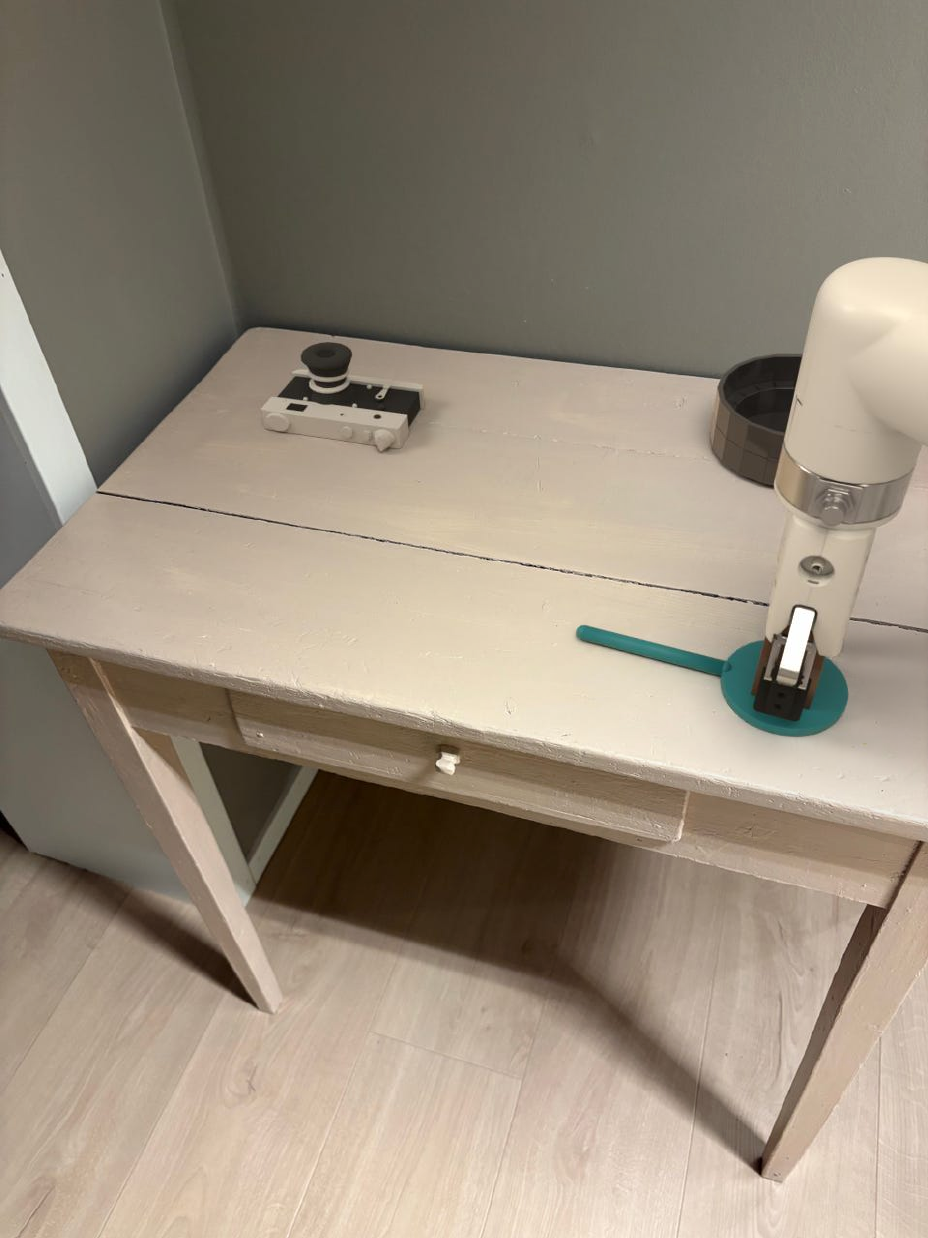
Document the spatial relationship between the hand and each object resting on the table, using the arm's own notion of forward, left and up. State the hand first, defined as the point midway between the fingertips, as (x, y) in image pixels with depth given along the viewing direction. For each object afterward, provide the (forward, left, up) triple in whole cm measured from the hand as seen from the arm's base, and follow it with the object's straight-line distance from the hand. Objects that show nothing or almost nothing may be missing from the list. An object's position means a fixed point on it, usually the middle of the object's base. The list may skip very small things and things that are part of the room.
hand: (787, 669), depth 70 cm
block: (0, 0, -1) cm, 1 cm away
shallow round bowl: (+5, -32, -2) cm, 32 cm away
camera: (+49, -22, -2) cm, 54 cm away
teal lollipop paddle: (+6, 0, -2) cm, 6 cm away
